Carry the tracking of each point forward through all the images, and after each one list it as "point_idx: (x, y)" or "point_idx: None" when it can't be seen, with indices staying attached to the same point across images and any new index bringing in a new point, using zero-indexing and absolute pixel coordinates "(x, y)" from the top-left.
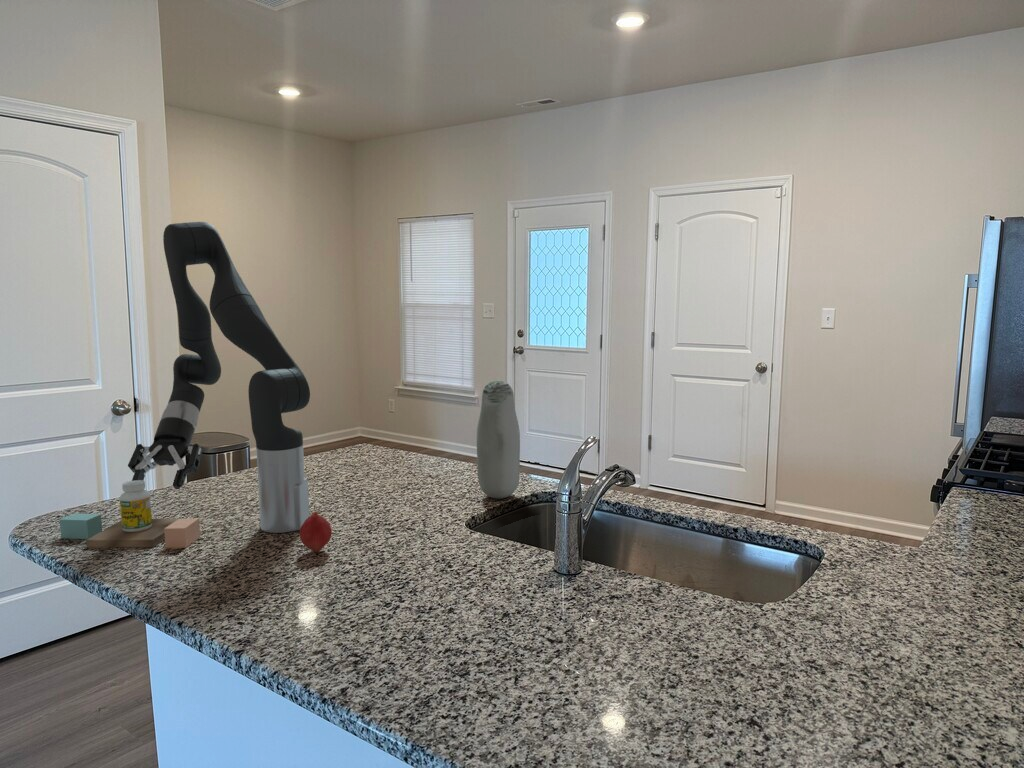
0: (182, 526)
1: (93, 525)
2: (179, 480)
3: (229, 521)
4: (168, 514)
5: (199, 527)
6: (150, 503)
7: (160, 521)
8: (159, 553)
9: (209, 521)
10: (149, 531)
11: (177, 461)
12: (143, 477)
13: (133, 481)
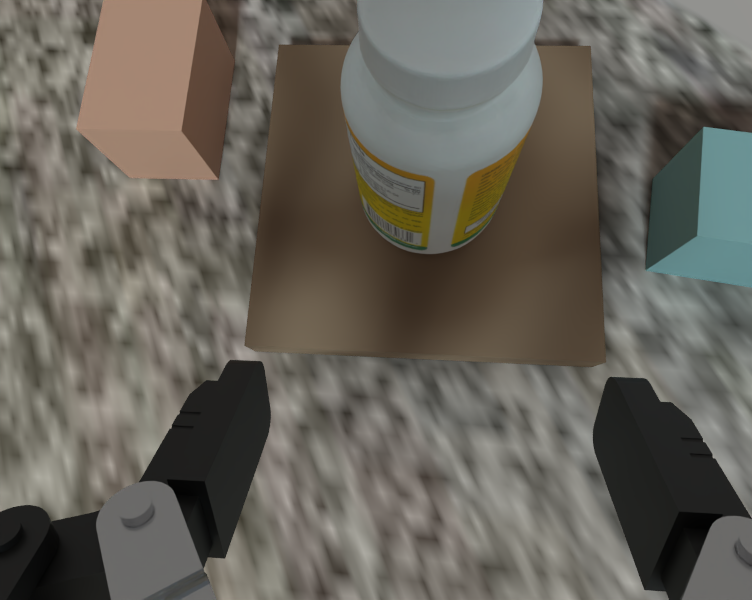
0: (124, 16)
1: (676, 192)
2: (201, 400)
3: (42, 400)
4: (437, 580)
5: (104, 154)
6: (353, 155)
7: (359, 299)
8: (235, 6)
9: (147, 409)
10: (345, 145)
11: (180, 590)
12: (636, 546)
13: (474, 33)
